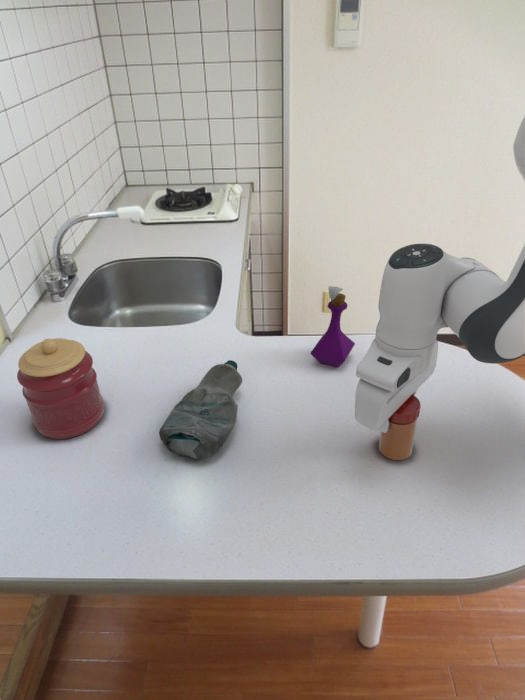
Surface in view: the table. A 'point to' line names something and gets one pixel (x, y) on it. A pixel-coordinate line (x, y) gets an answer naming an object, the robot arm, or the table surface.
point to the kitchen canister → (60, 388)
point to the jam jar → (398, 441)
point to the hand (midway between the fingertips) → (394, 418)
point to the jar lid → (407, 411)
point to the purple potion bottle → (334, 334)
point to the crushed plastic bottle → (204, 414)
